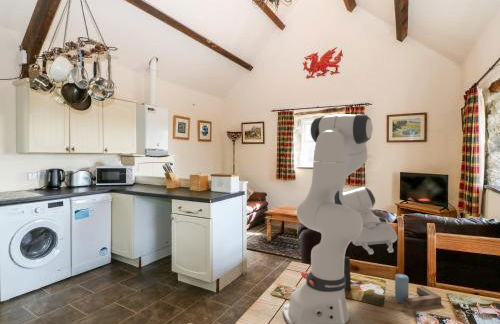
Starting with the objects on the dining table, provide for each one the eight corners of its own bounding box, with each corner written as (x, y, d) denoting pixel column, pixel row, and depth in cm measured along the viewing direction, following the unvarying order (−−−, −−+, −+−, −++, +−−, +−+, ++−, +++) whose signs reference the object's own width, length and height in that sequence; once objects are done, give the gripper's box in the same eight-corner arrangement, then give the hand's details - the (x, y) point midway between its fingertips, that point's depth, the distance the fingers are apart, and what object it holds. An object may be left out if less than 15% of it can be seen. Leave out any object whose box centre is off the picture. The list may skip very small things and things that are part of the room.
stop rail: (409, 308, 96) (409, 301, 96) (392, 296, 105) (392, 289, 105) (441, 303, 99) (441, 297, 99) (422, 292, 107) (422, 286, 107)
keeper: (400, 303, 100) (401, 279, 99) (392, 297, 104) (392, 274, 104) (411, 302, 100) (411, 278, 100) (402, 296, 105) (402, 273, 104)
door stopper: (351, 290, 110) (351, 261, 109) (335, 288, 111) (335, 260, 111) (347, 280, 119) (347, 253, 118) (333, 278, 120) (333, 252, 120)
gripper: (349, 221, 118) (362, 251, 108) (390, 218, 122) (406, 247, 112) (343, 228, 122) (356, 258, 113) (383, 226, 126) (398, 254, 117)
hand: (381, 252), depth 113 cm, fingers open, 8 cm apart
